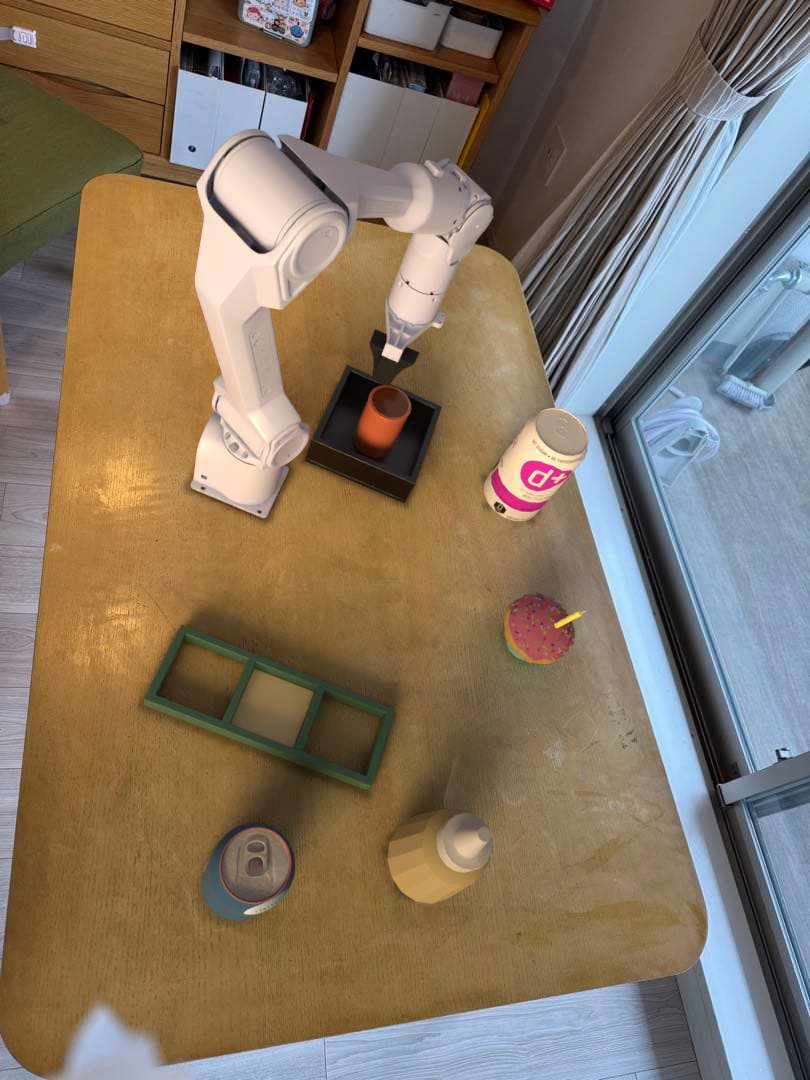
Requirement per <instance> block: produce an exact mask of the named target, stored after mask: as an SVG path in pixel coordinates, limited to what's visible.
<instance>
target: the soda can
mask: <svg viewBox="0 0 810 1080" xmlns="http://www.w3.org/2000/svg"><path fill="white" fill-rule="evenodd" d="M291 845H292V844H291V843H290V842H289V840H288V838H287V837H286V836H285V835H284V834H283V832H281V831H280V830H279V829H277V828H276V827H274V826H271V824H270V825H269V824H267V823H264V822H263V823H262V822H248V823H244V824H241V825H238V826H236V827H234V828H232V829H231V830H230V831H228V832H227V833H226V834H225V835H224V836H223V837H222V838H221V839H220V840H219V842H218V843H217V844H216V846H215V847H214V849H213V851H212V852H211V854H210V855H209V857H208V858H207V860H206V862H205V864H204V867H203V870H202V873H201V880H200V881H201V883H200V885H201V892H202V895H203V898H204V901H205V903H206V904H207V907H209V909H210V910H211V911H212V912H213V913H214V914H215V915H217V916H218V917H220V918H223V919H224V920H228V921H231V922H242V921H246V920H250V919H252V918H255V917H256V916H258V915H260V914H262V913H264V912H266V911H268V910H270V909H272V908H273V907H275V906H276V905H277V904H279V903H280V902H281V901H282V900H283V899H284V897H285V896H286V895H287V893H288V892H289V890H290V889H291V886H292V884H293V881H294V878H295V873H296V859H295V854H294V853H295V852H294V850H293V846H291Z"/></svg>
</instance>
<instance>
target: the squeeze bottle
mask: <svg viewBox="0 0 810 1080" xmlns="http://www.w3.org/2000/svg"><path fill="white" fill-rule="evenodd" d="M493 846H494V839H493V835H492V832H491V829H490V827H489V826H488V824H487V823H486V822H485V820H484V819H482V818H481V817H479V816H477V815H476V814H474V813H472V812H471V811H469V810H468V809H466V808H462V807H461V808H460V807H455V806H451V807H446V808H442V809H438V810H434V811H429V812H425V813H422V814H418V815H413V816H410V817H408V818H407V819H406V820H404V821H403V822H402V823H400V824H399V825H398V826H397V827H396V829H395V831H394V832H393V835H392V836H391V838H390V840H389V843H388V851H387V860H386V861H387V864H388V868H389V872H390V876H391V879H392V880H393V882H394V883H395V885H396V886H397V888H398V889H399V890H400V892H401V893H403V894H404V895H405V896H407V897H409V898H410V900H411V899H412V900H413V901H414V902H418V903H423V904H429V905H433V904H436V903H439V902H443V901H446V900H449V899H450V898H451V897H453V896H454V895H456V894H458V893H459V892H461V891H463V890H464V889H466V888H467V887H469V886H471V885H472V884H473V883H475V882H476V881H477V880H478V879H479V878H481V876H483V875H484V874H485V872H486V871H487V868H488V866H489V863H490V861H491V858H492V857H491V855H492V853H493V848H494V847H493Z"/></svg>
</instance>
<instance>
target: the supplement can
mask: <svg viewBox="0 0 810 1080" xmlns="http://www.w3.org/2000/svg"><path fill="white" fill-rule="evenodd" d="M589 441H590V439H589V432H588V431H587V429H586V427H585V424H584V423H583V422H582V421H581V420H580V419H579V418H578V417H577V416H576V415H575V414H573V413H571V412H570V411H568V410H565V409H563V408H560V407H548V408H545V409H543V410H541V411H539V412H535V413H533V414H532V415H531V416H530V417H528V418H527V420H526V421H525V423H524V424H523V425H522V427H521V429H520V430H519V431H518V433H517V434H516V435H515V436H514V438H513V439H512V441H511V443H510V444H509V445H508V447H507V448H506V449H505V450H504V452H503V453H502V454H501V457H500V458H499V459H498V460H497V462H496V464H495V465H494V466H493V468H492V469H491V470H490V472H489V473H488V475H487V476H486V478H485V481H484V483H483V491H484V492H483V494H484V496H485V499H486V502H487V503H488V505H489V506H490V507H491V508H492V510H493V511H494V512H495V513H497V514H498V515H499V516H501V517H502V518H505V519H507V520H510V521H512V522H525V521H526V522H527V521H528V520H531V519H533V518H534V517H535V516H536V515H537V514H539V512H540V511H541V509H542V508H543V507H544V506H545V505H546V504H547V503H548V501H550V499H551V498H552V497H553V496H554V495H555V494H556V493H557V492H558V490H560V488H561V487H562V486H563V484H565V482H566V481H567V480H568V479H569V478H570V476H571V475H572V474H573V473H574V472H575V471H576V469H577V468H579V466H580V465H581V464H582V462H583V461H585V459H586V456H587V453H588V445H589Z"/></svg>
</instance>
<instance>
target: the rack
mask: <svg viewBox="0 0 810 1080" xmlns="http://www.w3.org/2000/svg"><path fill="white" fill-rule="evenodd" d="M185 642H187V643H190V644H192V645H195V646H197V647H200V648H202V649H204V650H207V651H210V652H213V653H215V654H218V655H220V656H223V657H224V658H225V657H226V658H228V659H231V660H233V661H236V662H237V663H241V664H243V665H245V667H244V670H243V671H242V674H241V676H240V678H239V681H238V682H237V685H236V687H235V690H234V692H233V694H232V697H231V699H230V701H229V704H228V706H227V708H226V710H225V712H224V714H223V718H222V719H219V718H216V717H213V716H212V715H209V714H206V713H203V712H200V711H198V710H195V709H194V708H191V707H188V706H186V705H183V704H180V703H178V702H175V701H173V700H169V699H167V698H164V697H162V696H159V693H160V691H161V690H162V687H163V685H164V683H165V681H166V679H167V677H168V675H169V673H170V671H171V668H173V665H174V663H175V662H176V661H175V660H176V659H177V657H178V655H179V653H180V650H181V648H182V646H183V645H184V643H185ZM323 697H327V698H329V699H332V700H334V701H337V702H340V703H342V704H344V705H347V706H349V707H352V708H355V709H357V710H359V711H363V712H364V713H368V714H370V715H372V716H375V717H377V718H380V721H379V725H378V727H377V731H376V734H375V737H374V740H373V744H372V747H371V751H370V753H369V755H368V756H369V757H368V760H367V763H366V766H365V769H364V772H363V774H362V773H359V772H357V771H354V770H352V769H349V768H347V767H343V766H341V765H339V764H336V763H333V762H331V761H329V760H326V759H323V758H321V757H318V756H315V755H313V754H311V753H307V752H306V751H304V749H305V746H306V743H307V740H308V738H309V735H310V732H311V730H312V728H313V724H314V721H315V719H316V716H317V713H318V710H319V708H320V704H321V703H322V699H323ZM143 706H145V707H148V708H151V709H153V710H155V711H158V712H161V713H164V714H166V715H169V716H171V717H174V718H177V719H179V720H181V721H185V722H187V723H189V724H192V725H195V726H198V727H200V728H202V729H205V730H208V731H211V732H213V733H215V734H218V735H220V736H221V735H222V736H224V737H227V738H229V739H232V740H234V741H236V742H239V743H242V744H244V745H247V746H250V747H252V748H255V749H258V750H261V751H262V752H265V753H268V754H271V755H274V756H276V757H279V758H281V759H283V760H287V761H289V762H292V763H294V764H297V765H299V766H302V767H305V768H308V769H310V770H312V771H315V772H318V773H320V774H323V775H325V776H328V777H331V778H333V779H337V780H339V781H342V782H344V783H347V784H349V785H351V786H354V787H357V788H359V789H362V790H365V791H367V790H369V789H370V788H371V787H372V786H373V783H374V779H375V777H376V773H377V770H378V767H379V764H380V761H381V757H382V754H383V753H382V752H383V750H384V747H385V744H386V740H387V738H388V734H389V731H390V728H391V724H392V721H393V717H394V714H395V710H396V709H395V708H393V707H391V706H389V705H386V704H383V703H380V702H378V701H376V700H373V699H370V698H368V697H366V696H363V695H360V694H358V693H355V692H353V691H350V690H348V689H346V688H344V687H343V688H342V687H340V686H338V685H336V684H333V683H330V682H327V681H325V680H322V679H320V678H318V677H315V676H312V675H310V674H308V673H305V672H303V671H300V670H297V669H295V668H292V667H290V666H287V665H284V664H282V663H280V662H277V661H274V660H273V659H269V658H267V657H265V656H261V655H259V654H257V653H254V652H252V651H249V650H247V649H244V648H241V647H239V646H236V645H234V644H232V643H229V642H226V641H224V640H221V639H219V638H216V637H214V636H211V635H208V634H207V633H204V632H201V631H199V630H197V629H193V628H191V627H189V626H186V625H184V624H181V625H180V626H179V628H178V631H177V633H176V635H175V637H174V638H173V640H172V642H171V644H170V647H168V650H167V652H166V654H165V656H164V658H163V660H162V662H161V664H160V666H159V668H158V670H157V672H156V674H155V676H154V678H153V680H152V682H151V684H150V686H149V688H148V690H147V692H146V694H145V696H144V698H143Z"/></svg>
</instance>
